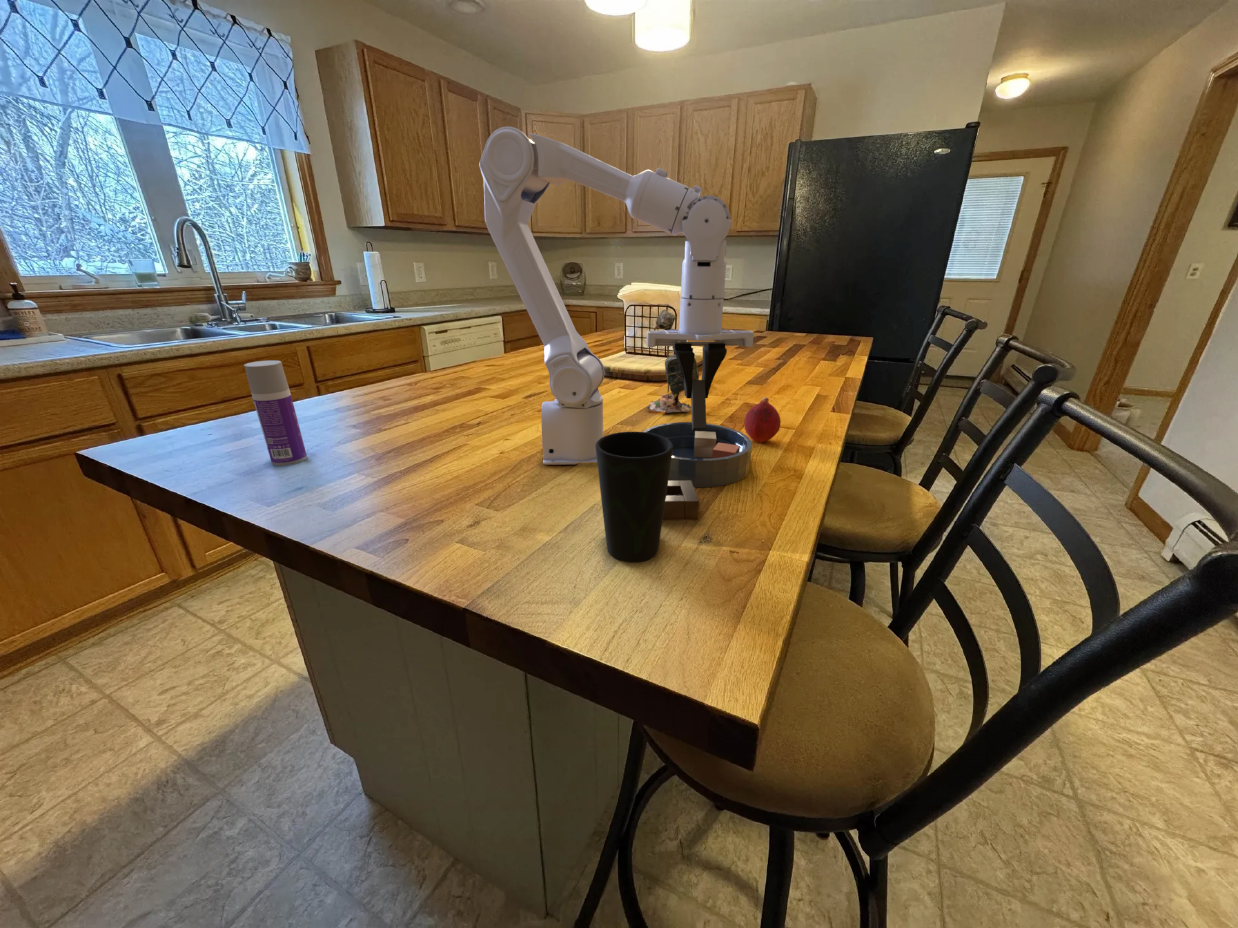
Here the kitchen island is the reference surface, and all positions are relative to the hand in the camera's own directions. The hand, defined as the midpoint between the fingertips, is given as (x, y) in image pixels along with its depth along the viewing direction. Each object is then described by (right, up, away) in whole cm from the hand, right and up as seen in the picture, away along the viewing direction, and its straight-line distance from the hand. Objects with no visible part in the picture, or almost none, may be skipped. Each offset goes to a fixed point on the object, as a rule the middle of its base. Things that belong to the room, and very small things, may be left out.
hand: (695, 396), depth 71 cm
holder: (-5, -16, -11) cm, 20 cm away
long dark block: (0, -5, -3) cm, 6 cm away
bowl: (0, -10, +2) cm, 11 cm away
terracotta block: (+4, -10, +1) cm, 11 cm away
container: (-62, -9, +5) cm, 63 cm away
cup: (-10, -19, -18) cm, 28 cm away
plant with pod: (0, +1, +30) cm, 30 cm away
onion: (+13, -7, +12) cm, 19 cm away
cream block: (+2, -8, +6) cm, 10 cm away
